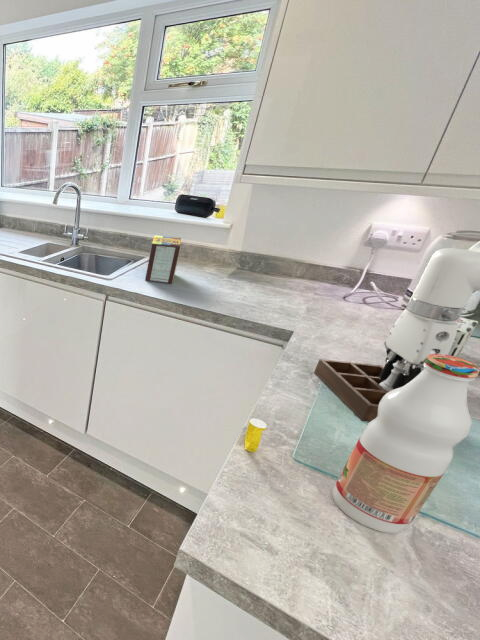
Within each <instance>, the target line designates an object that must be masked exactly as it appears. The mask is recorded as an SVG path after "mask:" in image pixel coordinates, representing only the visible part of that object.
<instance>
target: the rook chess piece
mask: <svg viewBox="0 0 480 640" xmlns="http://www.w3.org/2000/svg"><path fill="white" fill-rule="evenodd" d="M405 364H406V362H405V361H402V360H401V361H399V360H398V361H397V362H396V363H393V366H394V369H392V370H391V371H392V372H391V374H390V376H389V377H388V378H387V379H386V380H384V381H383V382H381V383H380V384H379V385H380V386H381V387H382V388H384V389H385V390H386V391H392V390H394V389H393V388H392V385H393V383H394V381H395V380H396V378H397V376H398V374H399V373H402V372H403V369H404V367H405ZM412 369H413V367H412Z"/></svg>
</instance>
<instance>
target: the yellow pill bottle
mask: <svg viewBox="0 0 480 640" xmlns="http://www.w3.org/2000/svg"><path fill="white" fill-rule="evenodd" d="M267 426H268V425H267V423H266V422H264V421H263V420H262V419H259V418H251V419H249V421H248V426H247V429H246V434H245V437H244V450H245V451H248V452H251V453H256V452H257V450H258V448H259V446H260V443H261V439H262V434H263V431H266V430H267Z"/></svg>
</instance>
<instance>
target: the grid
mask: <svg viewBox="0 0 480 640" xmlns="http://www.w3.org/2000/svg"><path fill="white" fill-rule="evenodd" d="M383 368H384V365H382V364H381V365H380V364H374V363H373V364H372V363H362V362H353V361H352V362H351V361H342V360H333V359H332V360H331V359H322V358H319V360H318V362H317V364H316V366H315V369H314V371H313V374H314V375H315V376H316V377H317V378H318V379H319V380H320V381H321V382H322V383H323V384H324V385H325V386H326V387H327V388H328V389H329V390H330V391H331V392H332V393H333V394H334V395H335V396H336V397H337V398H338V399H339V400H340V401H341V402H342V403H343V404H344V405H345V406H346V407H347V408H348V409H349V410H350V411H351V412H352V413H353V414H354V415H355V416H356V417H357V418H358V419H359V420H360V421H361V422H364V423H365V422H366V423H369V422H370V421H372V420H373V419H375V418H376V417H377V414H378V405H379V402H380V401H381V399H382V398H383V396H384V395H385V394H386V393H388V392H390V391H386V390H385V389H384V388H382V387H381V386H380V385H379V384H380V383H381V382H383V381H384V379H381V378H379V376H380V374H381V372H382V370H383Z"/></svg>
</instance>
